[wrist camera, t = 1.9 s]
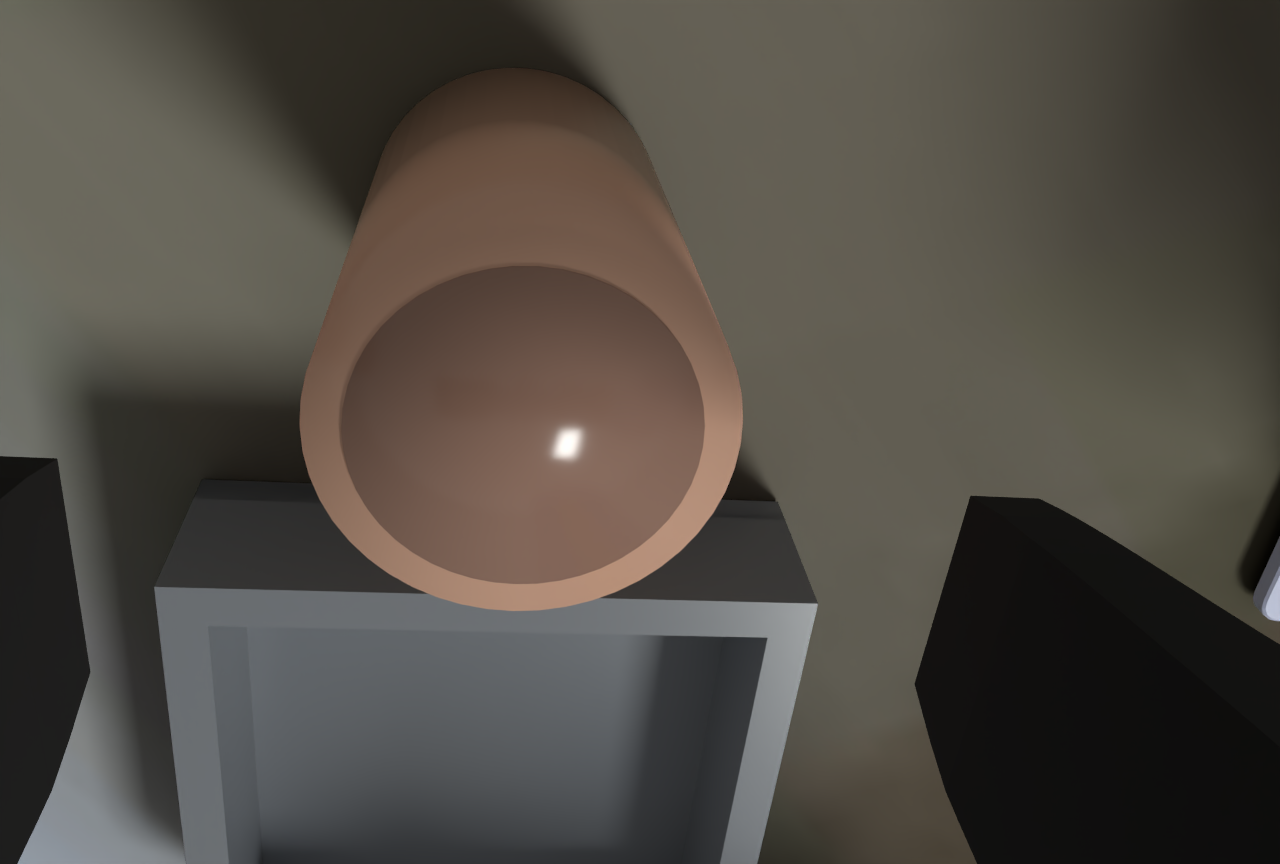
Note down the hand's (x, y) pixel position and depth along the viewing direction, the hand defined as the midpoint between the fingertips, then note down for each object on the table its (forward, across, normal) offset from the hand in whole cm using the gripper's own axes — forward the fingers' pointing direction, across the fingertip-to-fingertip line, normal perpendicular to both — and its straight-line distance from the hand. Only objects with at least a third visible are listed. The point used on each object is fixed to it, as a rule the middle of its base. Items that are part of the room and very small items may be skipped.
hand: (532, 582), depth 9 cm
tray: (+9, 0, +10) cm, 14 cm away
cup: (+9, 0, 0) cm, 9 cm away
